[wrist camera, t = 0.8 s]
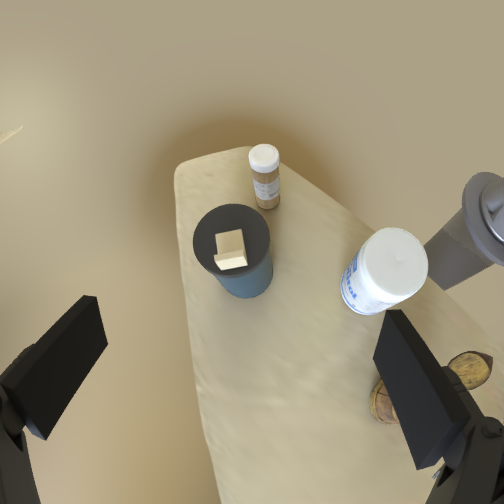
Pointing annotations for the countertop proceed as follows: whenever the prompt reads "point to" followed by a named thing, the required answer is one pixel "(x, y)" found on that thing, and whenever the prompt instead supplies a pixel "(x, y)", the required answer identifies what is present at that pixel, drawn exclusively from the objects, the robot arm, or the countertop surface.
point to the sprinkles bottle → (265, 175)
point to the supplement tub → (384, 271)
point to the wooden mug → (465, 365)
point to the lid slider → (230, 250)
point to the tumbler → (256, 246)
